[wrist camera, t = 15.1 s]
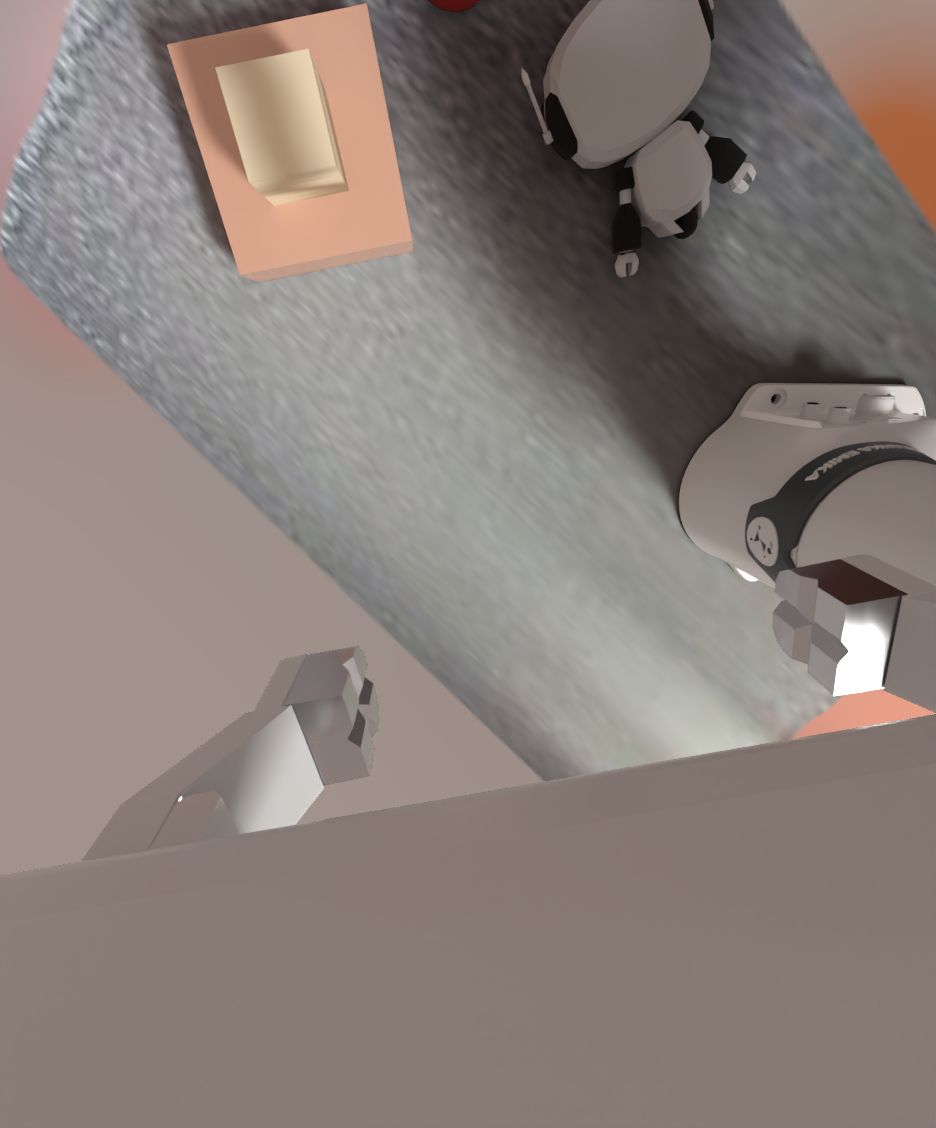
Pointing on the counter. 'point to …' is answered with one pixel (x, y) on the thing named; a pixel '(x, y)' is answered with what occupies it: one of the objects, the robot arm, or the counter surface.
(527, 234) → the counter surface
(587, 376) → the counter surface
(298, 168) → the maple cube
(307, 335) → the counter surface
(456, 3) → the plastic cup
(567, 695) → the counter surface
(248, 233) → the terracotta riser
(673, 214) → the robot toy
